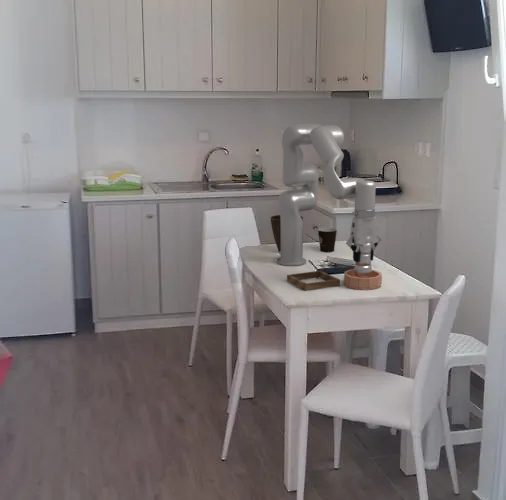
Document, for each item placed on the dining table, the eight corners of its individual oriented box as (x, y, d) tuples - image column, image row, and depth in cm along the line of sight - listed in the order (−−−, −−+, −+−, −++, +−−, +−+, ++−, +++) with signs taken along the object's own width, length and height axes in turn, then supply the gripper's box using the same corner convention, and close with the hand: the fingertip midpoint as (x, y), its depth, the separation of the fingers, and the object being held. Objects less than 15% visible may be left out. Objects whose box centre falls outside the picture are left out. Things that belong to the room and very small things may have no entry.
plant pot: (265, 249, 328) (265, 215, 325) (294, 246, 334) (294, 213, 330) (278, 256, 315) (278, 221, 311) (308, 253, 320) (308, 218, 316)
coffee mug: (337, 252, 321) (337, 231, 318) (318, 252, 321) (318, 231, 318) (334, 247, 332) (335, 226, 330) (316, 247, 332) (316, 226, 330)
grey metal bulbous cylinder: (352, 274, 271) (353, 224, 266) (369, 274, 271) (370, 223, 267) (355, 279, 264) (357, 227, 260) (373, 278, 265) (375, 226, 260)
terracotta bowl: (337, 282, 272) (337, 271, 271) (367, 278, 278) (367, 267, 277) (357, 291, 259) (357, 280, 258) (388, 287, 265) (388, 275, 264)
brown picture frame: (287, 281, 274) (287, 274, 274) (320, 276, 281) (320, 270, 280) (305, 290, 261) (305, 284, 261) (340, 285, 267) (340, 279, 267)
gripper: (350, 217, 256) (349, 265, 260) (389, 213, 262) (387, 260, 267) (339, 214, 262) (338, 261, 266) (377, 210, 269) (376, 256, 273)
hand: (363, 260), depth 266 cm, fingers closed on grey metal bulbous cylinder, 5 cm apart
